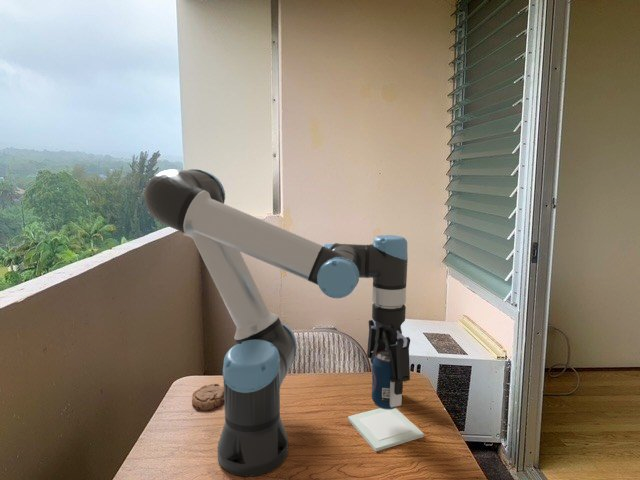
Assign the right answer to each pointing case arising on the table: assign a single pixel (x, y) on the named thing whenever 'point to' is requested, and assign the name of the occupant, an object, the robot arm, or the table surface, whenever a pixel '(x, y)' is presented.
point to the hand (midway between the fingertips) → (386, 397)
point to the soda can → (381, 380)
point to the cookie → (208, 397)
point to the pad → (384, 428)
